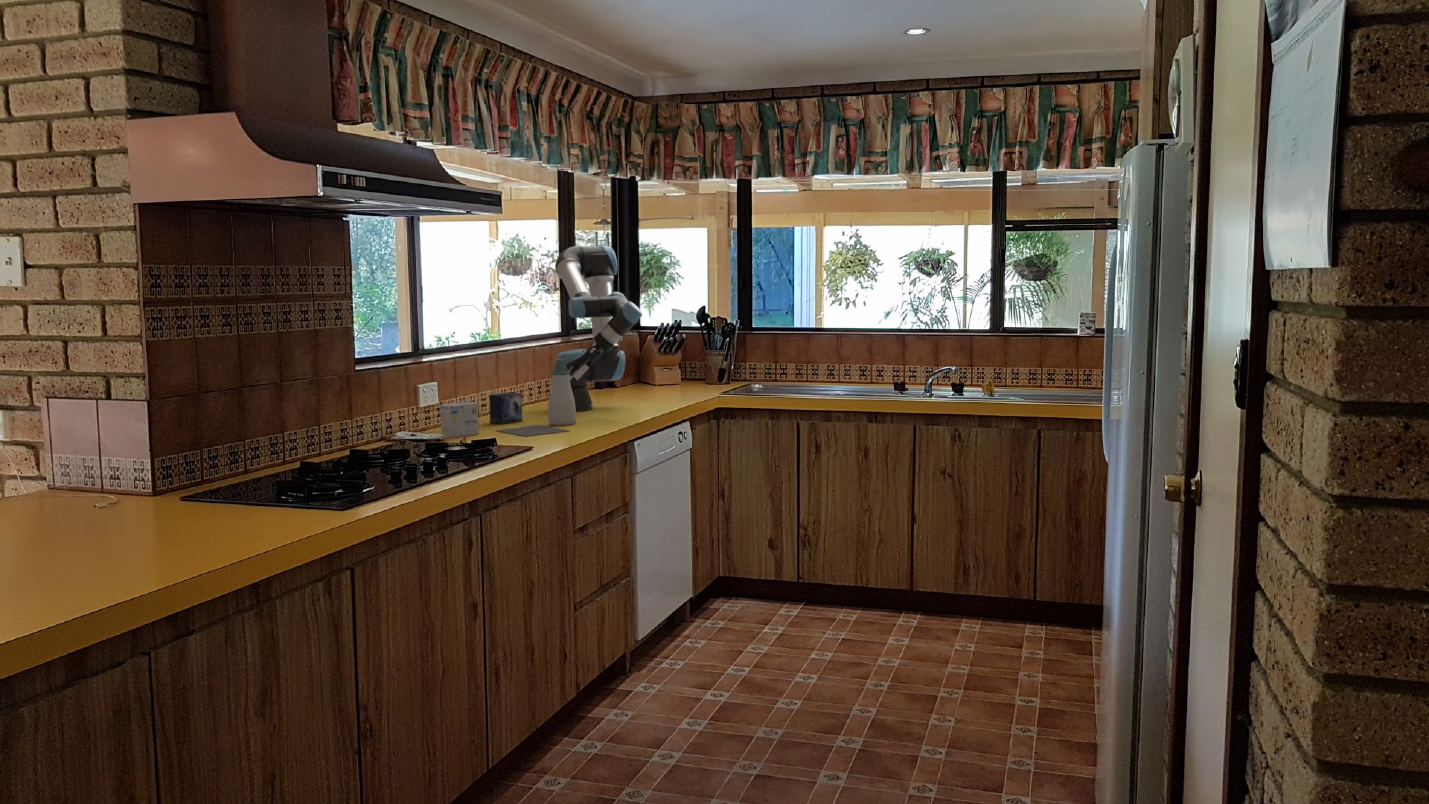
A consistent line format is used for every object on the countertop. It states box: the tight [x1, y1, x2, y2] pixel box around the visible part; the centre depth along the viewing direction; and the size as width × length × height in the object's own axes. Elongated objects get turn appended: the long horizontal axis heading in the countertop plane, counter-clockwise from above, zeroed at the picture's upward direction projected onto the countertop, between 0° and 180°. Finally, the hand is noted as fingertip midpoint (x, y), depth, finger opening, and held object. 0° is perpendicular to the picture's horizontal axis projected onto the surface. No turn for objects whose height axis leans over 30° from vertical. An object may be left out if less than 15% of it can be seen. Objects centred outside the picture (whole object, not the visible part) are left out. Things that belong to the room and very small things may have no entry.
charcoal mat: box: [494, 424, 570, 438], centre depth 363 cm, size 17×20×1 cm
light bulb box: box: [439, 401, 480, 439], centre depth 356 cm, size 11×7×11 cm, turn 134°
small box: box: [488, 391, 523, 425], centre depth 386 cm, size 11×6×10 cm, turn 143°
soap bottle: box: [547, 359, 577, 427], centre depth 378 cm, size 10×10×23 cm
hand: (569, 379), depth 394 cm, fingers open, 13 cm apart
